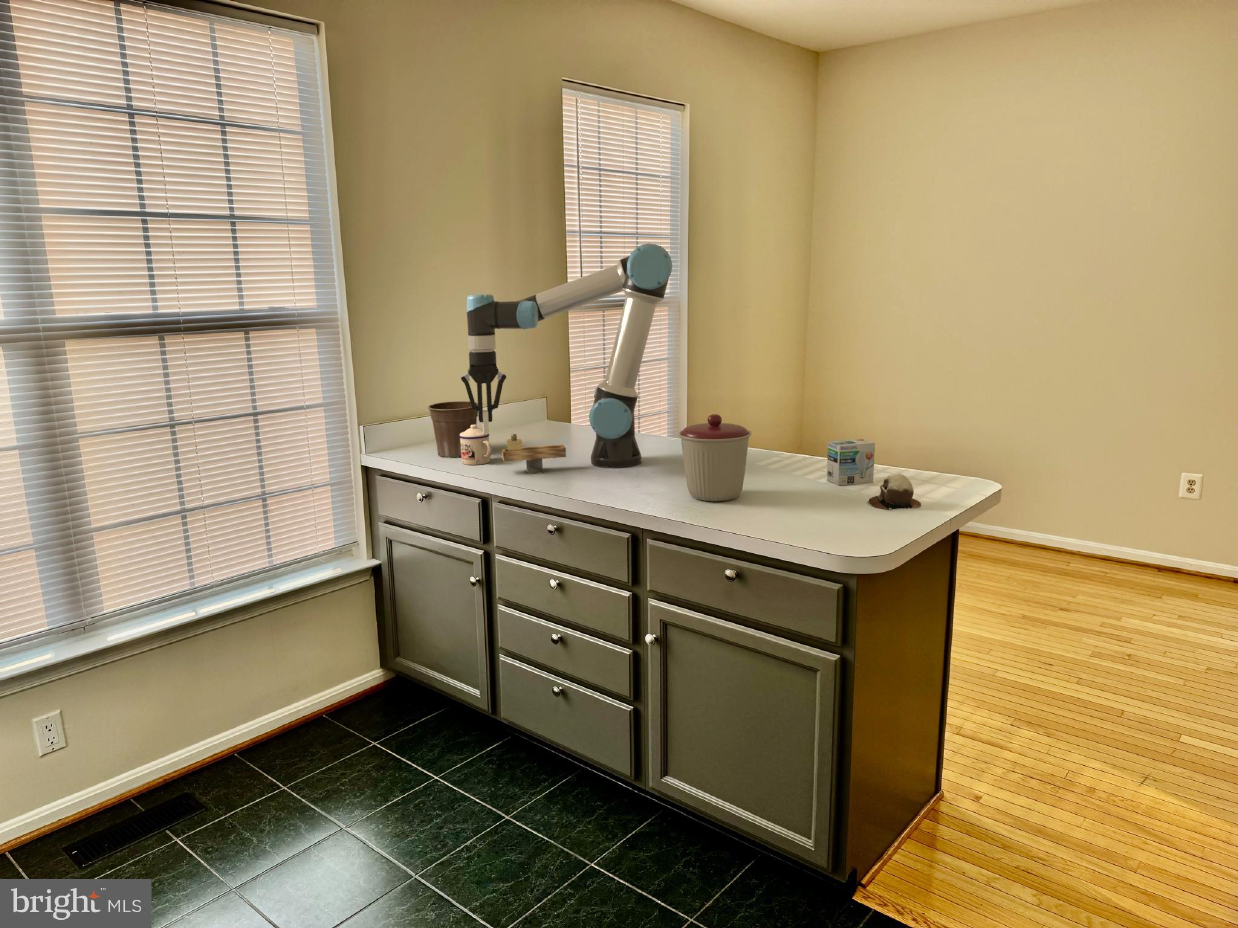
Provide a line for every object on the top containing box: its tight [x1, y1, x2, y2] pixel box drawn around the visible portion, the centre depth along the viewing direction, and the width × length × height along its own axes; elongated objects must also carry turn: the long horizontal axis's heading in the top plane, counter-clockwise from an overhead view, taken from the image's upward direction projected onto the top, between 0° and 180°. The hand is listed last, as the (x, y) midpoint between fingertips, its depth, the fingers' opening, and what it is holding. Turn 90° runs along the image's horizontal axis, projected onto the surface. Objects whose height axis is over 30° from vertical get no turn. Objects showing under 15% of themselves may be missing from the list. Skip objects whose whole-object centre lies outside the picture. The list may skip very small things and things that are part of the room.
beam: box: [501, 444, 567, 474], centre depth 256 cm, size 18×6×7 cm, turn 103°
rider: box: [506, 433, 523, 451], centre depth 254 cm, size 4×3×6 cm
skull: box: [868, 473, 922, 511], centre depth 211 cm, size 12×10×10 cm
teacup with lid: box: [459, 425, 492, 466], centre depth 269 cm, size 12×9×12 cm
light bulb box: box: [826, 438, 876, 486], centre depth 233 cm, size 11×7×11 cm, turn 105°
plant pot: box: [427, 400, 479, 459], centre depth 283 cm, size 16×16×16 cm
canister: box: [677, 413, 752, 502], centre depth 220 cm, size 18×18×21 cm
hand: (486, 433), depth 252 cm, fingers closed
